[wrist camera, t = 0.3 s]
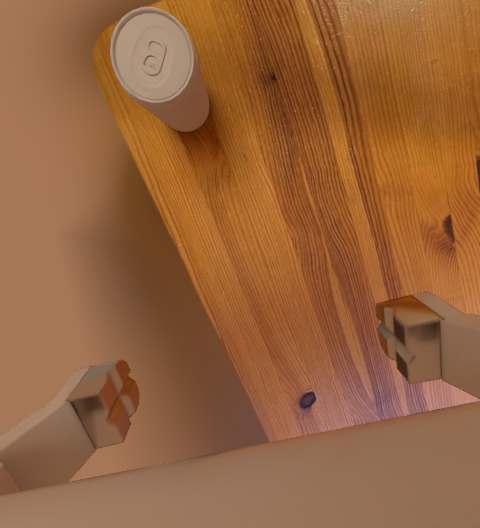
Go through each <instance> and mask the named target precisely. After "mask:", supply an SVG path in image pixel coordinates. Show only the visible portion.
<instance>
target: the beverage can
mask: <svg viewBox="0 0 480 528" xmlns="http://www.w3.org/2000/svg"><path fill="white" fill-rule="evenodd" d="M110 53H111V62H112V66H113V68H114V71H115V74H116V76H117V78H118V80H119V82H120V83H121V85H122V87H123V88H124V90H125V91H126V92H127V93H128V94H129V95H130V96H131V97H132V98H133V99H134V100H135V101H136V102H138V103H139V104H140V105H142V106H143V107H144V108H146V109H147V110H148V111H150V112H151V113H152V114H154V115H155V116H156V117H158V118H159V119H160V120H162V121H163V122H164V123H166V124H167V125H168V126H170V127H171V128H173V129H175V130H178V131H181V132H190V131H193V130H196V129H197V128H199V127H200V126H202V124H203V123H204V122H205V121H206V119H207V117H208V114H209V108H210V105H209V97H208V92H207V89H206V85H205V82H204V78H203V74H202V70H201V66H200V62H199V58H198V55H197V51H196V48H195V44H194V42H193V40H192V38H191V36H190V34H189V33H188V31H187V30H186V29H185V28H184V26H183V25H182V24H181V23H180V22H179V21H178V20H177V18H176V17H174V16H173V15H171V14H170V13H168V12H167V11H165V10H162V9H159V8H155V7H142V8H138V9H135V10H132V11H131V12H129V13H128V14H127V15H125V16H124V17H123V18H122V19H121V20H120V22H119V23H118V25H117V26H116V28H115V30H114V33H113V36H112V39H111V48H110Z"/></svg>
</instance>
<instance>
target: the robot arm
mask: <svg viewBox="0 0 480 528" xmlns="http://www.w3.org/2000/svg"><path fill="white" fill-rule="evenodd" d="M375 310H376V316H377V318H378V319H379V320H380V321H381V323H380V325H379V327H378V328H377V329H378V336H379V340H380V343H381V346H382V348H383V350H384V352H385V353H386V355H387V356H388V357H389V358H390V359H392V360H395V361H396V362H397V369H398V370H399V371H400V372H401V374H402V375H403V376H404V377H405V379H406V380H407V381H408V382H409V384H414V383H420V382H426V381H431V380H437V379H442V380H443V381H445V382H447V383H449V384H451V385H453V386H455V387H457V388H459V389H461V390H463V391H465V392H467V393H469V394H470V395H472V396H474V397H476V398H478V399H480V315H475V314H469V315H465V314H463V313H462V312H460V311H459V310H457V309H456V308H454V307H453V306H451V305H450V304H448V303H447V302H445V301H443V300H442V299H440V298H439V297H437V296H436V295H434V294H433V293H431V292H429V291H423V292H420V293H416V294H412V295H408V296H404V297H400V298H396V299H392V300H388V301H384V302H380V303H377V304H376V308H375ZM129 373H130V368H129V366H128V364H127V362H126V361H124V360H117V361H113V362H108V363H103V364H98V365H94V366H88V367H83V368H80V369H77V370H75V371H74V373H73V374H72V375H71V376H70V378H69V379H68V380H67V381H66V383H65V384H64V385H63V387H62V388H61V389H60V390H59V392H58V393H57V394H56V395H55V397H54V398H53V399H52V401H51V402H50V403H49V404H48V405H47V406H43V407H41V408H40V409H38V410H37V411H35V412H34V413H33V414H31V415H30V416H28V417H27V418H25V419H24V420H22V421H21V422H20V423H18V424H17V425H15V426H14V427H12V428H11V429H10V430H8V431H7V432H5V433H4V434H2V435H1V436H0V528H480V401H478V402H473V403H468V404H463V405H458V406H453V407H447V408H442V409H437V410H432V411H427V412H422V413H417V414H412V415H407V416H402V417H397V418H392V419H387V420H381V421H376V422H371V423H366V424H361V425H356V426H351V427H346V428H341V429H336V430H331V431H326V432H321V433H315V434H310V435H305V436H300V437H295V438H290V439H285V440H280V441H275V442H270V443H265V444H260V445H255V446H250V447H245V448H239V449H234V450H230V451H224V452H220V453H214V454H210V455H204V456H199V457H194V458H189V459H184V460H179V461H173V462H168V463H163V464H158V465H153V466H148V467H143V468H138V469H133V470H128V471H122V472H117V473H113V474H107V475H102V476H97V477H92V478H87V479H82V480H77V481H72V482H69V481H70V479H71V478H72V477H73V476H74V475H75V474H76V473H77V471H78V470H79V469H80V468H81V467H82V466H83V465H84V463H85V462H86V461H87V460H88V459H89V458H90V457H91V456H92V454H93V453H94V452H95V451H96V449H98V448H102V447H107V446H111V445H114V444H119V443H123V442H124V440H125V437H126V435H127V432H128V430H129V428H130V425H131V422H130V420H129V418H130V417H131V416H132V415H133V414H134V413H135V412H136V410H137V408H138V405H139V390H138V386H137V384H136V381H135V380H133V379H131V378H130V377H129Z"/></svg>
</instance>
